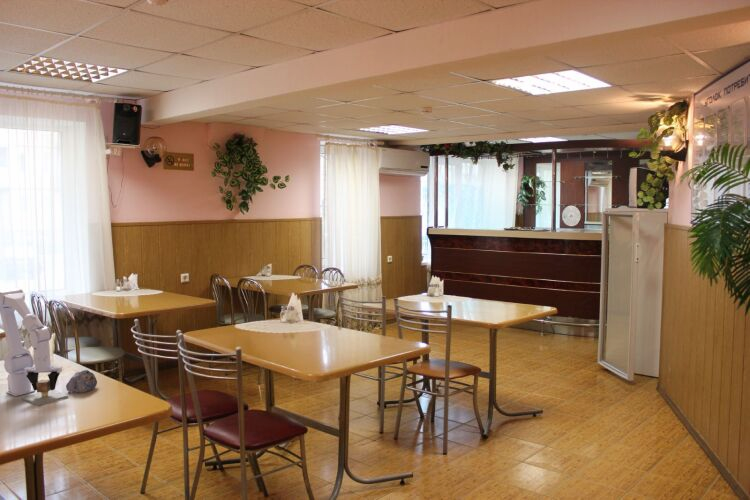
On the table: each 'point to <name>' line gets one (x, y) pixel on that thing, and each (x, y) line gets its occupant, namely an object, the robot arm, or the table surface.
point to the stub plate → (44, 397)
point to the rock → (81, 382)
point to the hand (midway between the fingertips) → (44, 389)
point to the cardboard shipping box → (43, 386)
